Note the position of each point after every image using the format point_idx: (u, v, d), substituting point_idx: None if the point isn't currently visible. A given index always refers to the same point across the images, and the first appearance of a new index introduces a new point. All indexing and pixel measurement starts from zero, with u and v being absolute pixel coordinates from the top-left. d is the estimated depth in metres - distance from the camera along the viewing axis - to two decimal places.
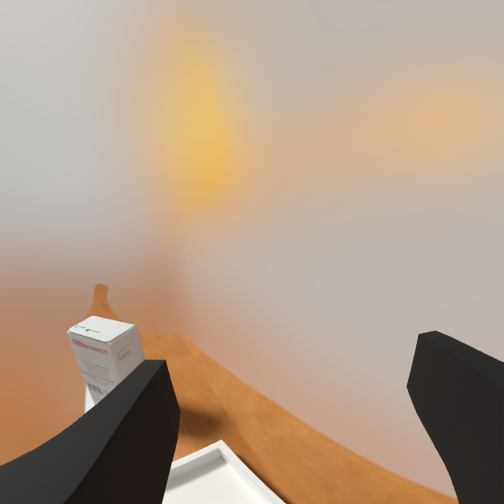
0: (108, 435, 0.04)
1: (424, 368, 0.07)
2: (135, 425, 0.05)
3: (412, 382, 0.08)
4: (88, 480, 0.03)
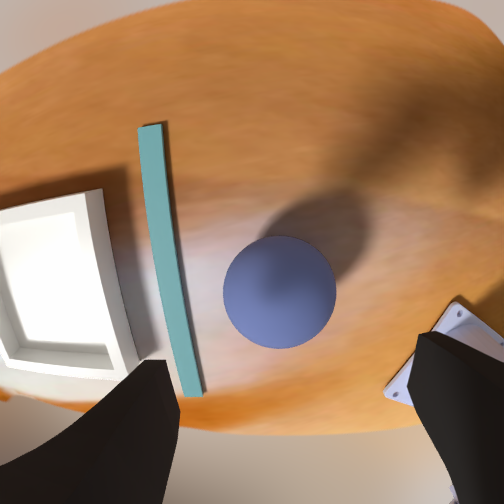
0: (108, 435, 0.04)
1: (424, 368, 0.07)
2: (135, 425, 0.05)
3: (412, 382, 0.08)
4: (88, 480, 0.03)
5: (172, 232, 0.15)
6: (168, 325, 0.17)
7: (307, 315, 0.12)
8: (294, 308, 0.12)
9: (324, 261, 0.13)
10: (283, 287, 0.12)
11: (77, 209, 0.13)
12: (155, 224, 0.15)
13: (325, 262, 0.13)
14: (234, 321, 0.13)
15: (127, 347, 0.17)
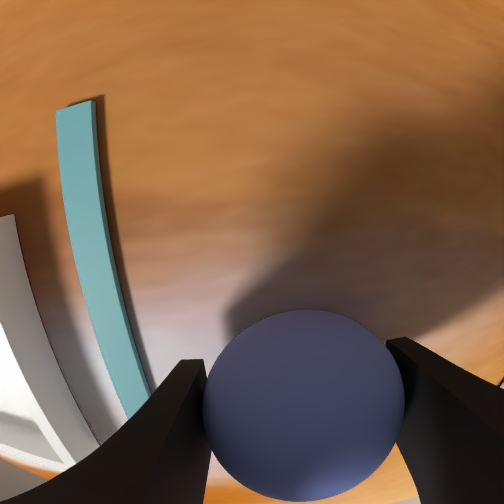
0: (161, 441, 0.04)
1: None
2: (183, 428, 0.05)
3: None
4: (149, 491, 0.03)
5: (117, 290, 0.09)
6: (129, 416, 0.10)
7: (359, 474, 0.05)
8: (339, 473, 0.05)
9: (393, 365, 0.06)
10: (322, 444, 0.05)
11: None
12: (89, 276, 0.08)
13: (394, 366, 0.06)
14: (223, 466, 0.06)
15: (77, 437, 0.10)
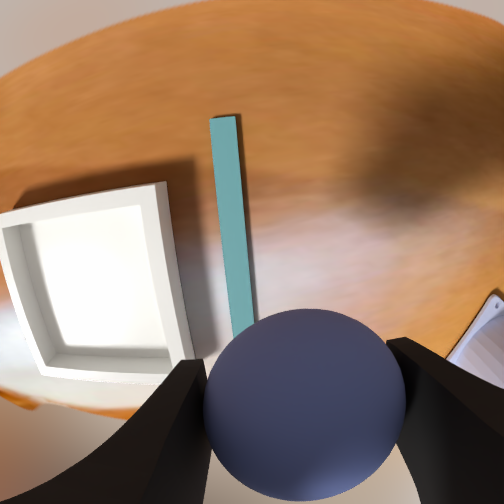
0: (161, 441, 0.04)
1: None
2: (182, 428, 0.05)
3: None
4: (149, 491, 0.03)
5: None
6: (233, 324, 0.17)
7: (361, 474, 0.05)
8: (341, 472, 0.05)
9: (394, 364, 0.06)
10: (323, 444, 0.05)
11: (145, 202, 0.13)
12: (227, 219, 0.15)
13: (395, 366, 0.06)
14: (224, 466, 0.06)
15: (188, 349, 0.16)
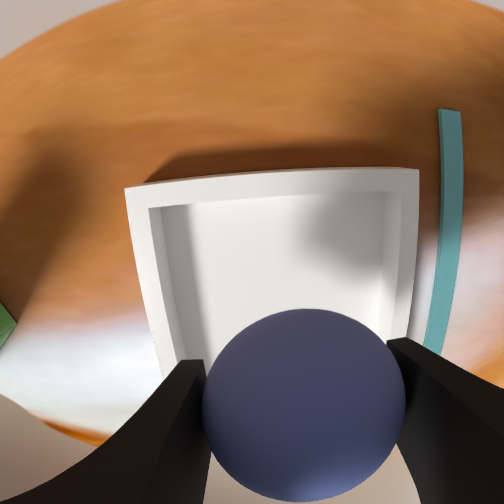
0: (161, 440, 0.04)
1: None
2: (183, 428, 0.05)
3: None
4: (149, 491, 0.03)
5: (461, 225, 0.13)
6: (431, 325, 0.14)
7: (360, 475, 0.05)
8: (340, 473, 0.05)
9: (394, 365, 0.06)
10: (322, 445, 0.05)
11: (407, 188, 0.10)
12: (449, 215, 0.12)
13: (395, 366, 0.06)
14: None
15: None
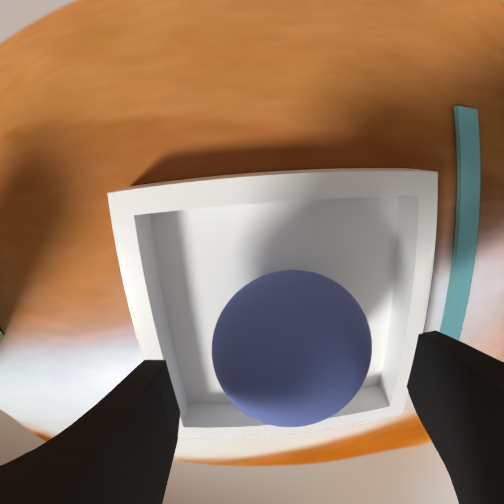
0: (108, 435, 0.04)
1: (424, 368, 0.07)
2: (135, 425, 0.05)
3: (412, 382, 0.08)
4: (88, 480, 0.03)
5: (477, 232, 0.11)
6: None
7: (335, 394, 0.07)
8: (318, 388, 0.07)
9: (359, 310, 0.09)
10: (302, 360, 0.07)
11: (425, 193, 0.09)
12: (465, 221, 0.11)
13: (360, 311, 0.09)
14: (228, 395, 0.08)
15: None
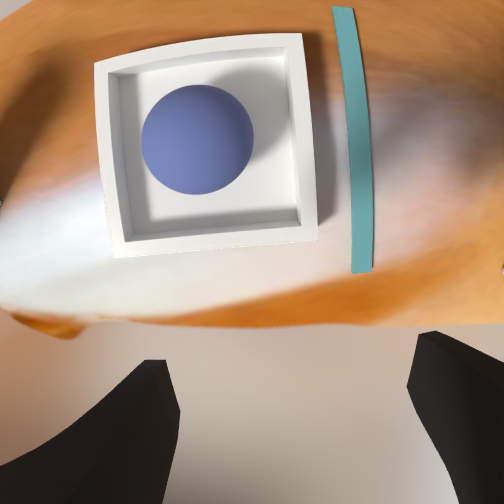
0: (108, 435, 0.04)
1: (424, 368, 0.07)
2: (135, 425, 0.05)
3: (412, 382, 0.08)
4: (88, 480, 0.03)
5: None
6: (354, 180, 0.16)
7: (210, 132, 0.11)
8: (196, 123, 0.11)
9: (236, 99, 0.12)
10: (185, 106, 0.11)
11: (292, 45, 0.13)
12: (350, 80, 0.15)
13: (237, 100, 0.12)
14: (146, 157, 0.12)
15: None
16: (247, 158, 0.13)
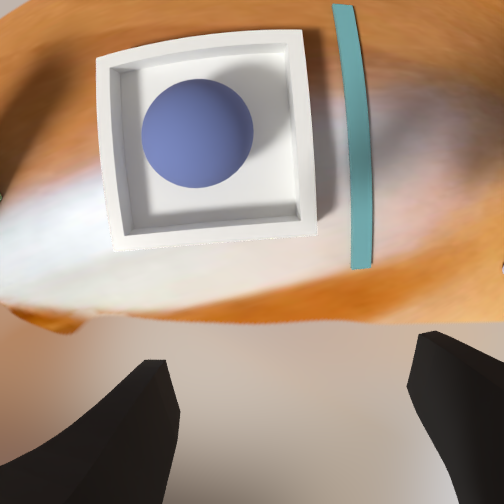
0: (108, 435, 0.04)
1: (424, 368, 0.07)
2: (135, 425, 0.05)
3: (412, 382, 0.08)
4: (88, 480, 0.03)
5: (364, 86, 0.15)
6: (353, 176, 0.16)
7: (209, 125, 0.11)
8: (195, 116, 0.11)
9: (236, 93, 0.12)
10: (186, 99, 0.11)
11: (292, 41, 0.13)
12: (350, 77, 0.15)
13: (237, 94, 0.12)
14: (146, 150, 0.12)
15: None
16: (246, 151, 0.13)
